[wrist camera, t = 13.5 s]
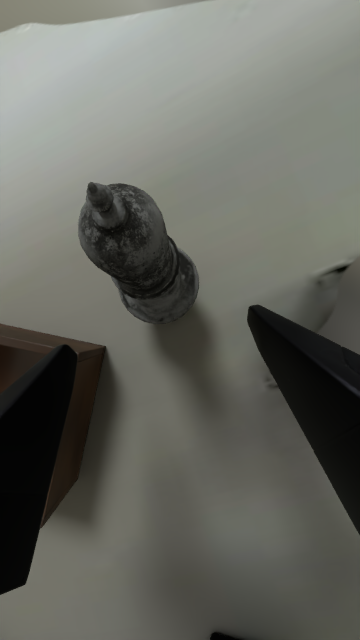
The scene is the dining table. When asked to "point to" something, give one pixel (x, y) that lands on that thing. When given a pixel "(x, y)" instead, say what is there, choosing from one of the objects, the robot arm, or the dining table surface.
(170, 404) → the dining table surface
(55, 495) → the wooden box
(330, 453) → the robot arm
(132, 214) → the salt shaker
